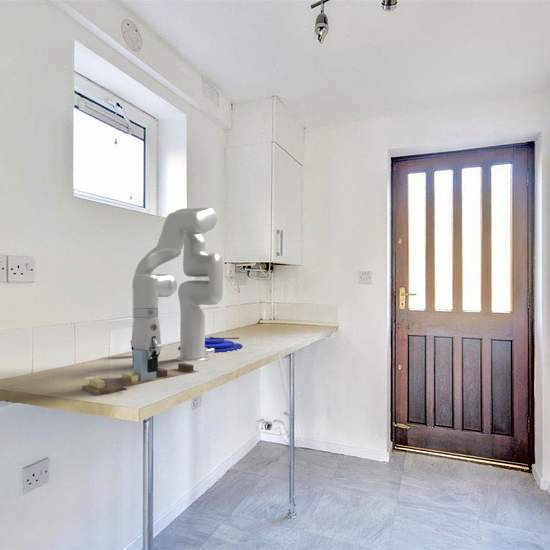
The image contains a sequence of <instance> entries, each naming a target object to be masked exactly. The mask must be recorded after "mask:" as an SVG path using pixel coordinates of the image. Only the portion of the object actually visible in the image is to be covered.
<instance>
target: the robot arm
mask: <svg viewBox="0 0 550 550" xmlns="http://www.w3.org/2000/svg"><path fill="white" fill-rule="evenodd" d="M217 220H218V217H217V213H216V211H215V210H214V209H213V208H212V207H188V208H180V209H177V210H175V211H174V212H171V213H169V214H167V216H166V217H165V220H164V223H163V226H162V229H161V231H160V234H159V235H160V236H159V239H158V241H157V245H156V246H155V247H153V249H151V250H150V251H149V252H148V253H147V254H146V255H145V256H144V257H143V258H142V259H141V260H140V261H139V262H138V263H137V266H136V268H135V272H134V275H133V278H132V283H131V284H132V287H131V288H132V319H133V321H132V322H133V323H132V330H131V340H130V342H129V343H130V346H131V348H130V349H131V355H132V363H133V362H134V349H139V350H143V351H147V354H148V357H149V359H148V364H147V372H149V373H150V372H156V371H158V368H159V358H160V354H161V350H162V343H161V341H162V339H161V337H162V336H161V327H160V326H161V325H160V320H159V298H167V297H171V296H173V295H174V294H175V292H176V291H177V296H178V301H179V310H180V311H179V312H180V315H179V316H180V324H179V325H180V333H179V334H180V338H179V339H180V340H179V342H180V343H179V344H180V346H179V347H180V350H179V351H180V353H179V354H180V355H179V356H177V357H176V358H175V359H176V360H177V361H182V362H197V361H198V362H199V361H205V362H208V361H209V356H208V355H209V354H214V348H211V349H207V348H205V338H206V332H205V331H206V315H205V312H204V310H203V309H202V307H201V306H200V305H203V306H204V305H206V306H209V305H210V306H211V305H212V306H213V305H218V304H219V303H221V301H222V298H223V287H224V286H223V285H224V263H223V259H222V256H220V255H219V254H218V253H215V252H209V253H208V252H207V253H206V240H205V238H204V237H203V234H205V233H209V231H211V230H213V229H214V228H215V227H216V225H217V222H218V221H217ZM182 251H183V256H182V258H183V259H182V270H183V273H184V275H185V276H187V277H190V278H208V280H197V279H196V280H195V279H194V280H186V281H183V282H181V283H180V284H179V286H178V283H177V280H176V277H175V278H174V276H172V275H170V274H165V273H164V274H163V273H162V274H161V273H153V271H154V270H155V269H156V268H158V267H159V266H161V265H163V264H166V263H167V262H170V261H172V260H174V259H176V258H177V257H180V255H181V254H182ZM177 288H178V289H177ZM150 348H152V349H150ZM151 352H153V353H152V354H151Z"/></svg>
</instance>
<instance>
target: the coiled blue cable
mask: <svg viewBox="0 0 550 550" xmlns="http://www.w3.org/2000/svg"><path fill="white" fill-rule="evenodd" d="M236 339H237V340H238V339H240V337H213V336H208V337H205V348H207V349H211V348H214V353H215V354H216V353H217V354H218V353H219V352H221V353H228V352H227V351H230V352H234V351H233V350H235V351H238V350H237V349H239V350H241V348H242V347H243V345H242V344H241V343H239V342H234V341H232V340H236ZM242 349H243V348H242ZM178 350H179V351H180V346H179V347H178ZM214 353H213V354H214ZM219 354H220V353H219Z"/></svg>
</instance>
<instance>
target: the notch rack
mask: <svg viewBox="0 0 550 550" xmlns="http://www.w3.org/2000/svg"><path fill="white" fill-rule="evenodd" d="M199 372H200V371H199V370H195V369H194V364H192V363H185V362H180V363H179V362H178V364H177V367H176V368H170V369H165V368H162V367H158V371H156V378H152V379H147V380H142V381H141V380H138V375H136V374H133V373H131V372H129V371H127V372H122V373H121V378H117V379H115V378H114V379H110V380H102V379H99V378H97V377H92V378H88V384H83V385H81V390H84V391H86V392H88V393H89V394H93V395H94V396H102V395H107V394H112V393H117V392H122V391H126V390H128V389H127V388H125V387H129V386H135V385H139V384H144V383H150V382H155V381H159V380H166V379H169V378H174V377H180V376H184V375H190V374H194V373H199Z"/></svg>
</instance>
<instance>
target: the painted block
mask: <svg viewBox="0 0 550 550" xmlns="http://www.w3.org/2000/svg"><path fill="white" fill-rule="evenodd" d="M150 349H152V348H150ZM152 353H153V352H151V354H152ZM133 356H134V362H133V361H132V369H133V370H132V371H133V374H136V375H138V380H141V381H142V380H147V379H152V378H156V372H150V373H149V372H147V364H148V359H149V357H148V354H147V351H143V350H139V349H134V355H133Z"/></svg>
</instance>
